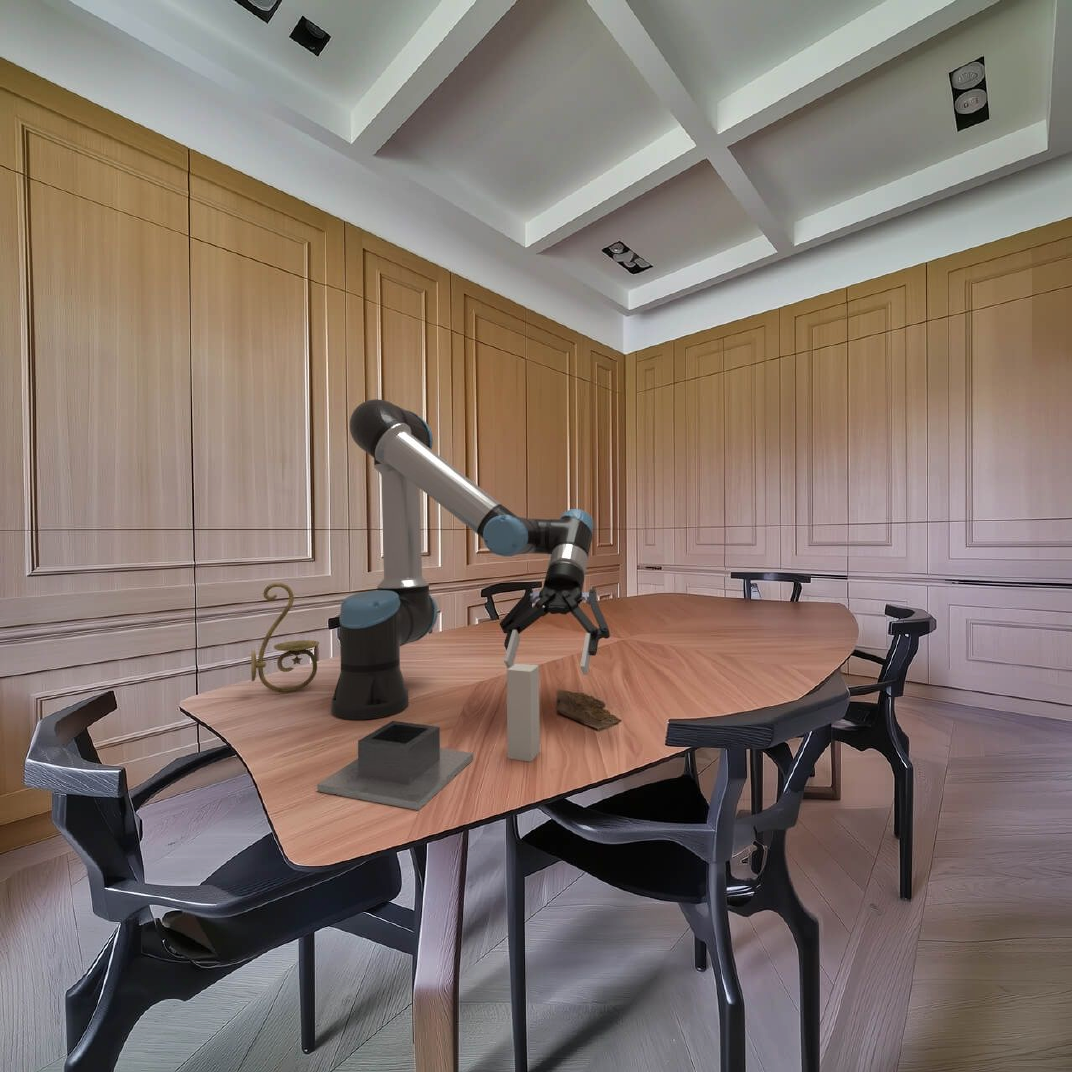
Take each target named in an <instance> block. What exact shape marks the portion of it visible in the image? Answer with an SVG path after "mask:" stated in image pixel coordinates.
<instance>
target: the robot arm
mask: <svg viewBox="0 0 1072 1072" xmlns="http://www.w3.org/2000/svg"><path fill="white" fill-rule="evenodd" d="M349 432H350V434H351V435H350V436H351V438H352V440H353V441H354V443H355V444H356V445H357V446H358V448H360V449H361V450H363V451H364V452H365V453H367V455H370V456H371V457H372V458H373V468H374V469H375V470H376V471H377V472H378V473H379V474H380V475H381V479H380V481H381V510H382V513H381V516H382V517H381V518H382V546H383V547H382V548H383V552H382V554H383V558H382V559H383V579H382V580H381V581H380V582H379V584H378V585H377V589H376V590H369V591H365V592H358V593H354V594H351V595H349V596H347V597H346V598H344V600H342V602H341V604H340V611H339V612H340V614H339V617H338V620H339V628H340V630H339V634H340V639H339V640H340V642H339V644H340V646H339V647H340V648H339V649H340V651H339V652H340V674H339V677H338V679H337V683H336V686H335V689H334V692H333V693H334V694H333V696H332V698H331V714H332V715H334V717H337V718H341V719H344V720H370V719H371V720H372V719H378V718H379V719H380V718H383V717H389V716H392V715H395V714H397V713H400V712H402V711H404V710H405V709H407V707H409V705H410V702H409V698H410V697H409V694H410V693H409V690H408V689H407V685H406V682H405V679H404V676H403V673H402V670H401V661H400V659H401V658H400V657H401V655H400V654H401V653H400V648H401V647H402V646H405V645H407V644H409V643H414V642H417V641H419V640H422V638H424V637H425V636H426V635H428V634H429V633H430V632H431V631H432V630H433V628H434V627H435V624H436V622H437V620H438V619H437V618H438V612H439V611H438V605H437V603H436V601H435V599H434V598H433V597H432V595H431V594H430V583H429V582H428V581H427V580H426V579H425V578H424V577H423V564H422V563H423V561H422V559H423V558H422V528H421V527H422V526H421V524H422V521H421V491H420V490H422V491H423V492H424V493H425V494H426V495H428V496H429V497H430V498H432V499H433V500H434V501H435V502H436V503H437V504H439V505H440V506H442V507H443V508H444V509H445V510H446V511H447V512H448V513H450V514H451V515H453V516H454V517H455V518H456V519H457V520H459V521H461V522H462V523H463V525H465V526H466V527H468V528H469V529H470V530H471V531H473V532H474V533H475V534H477V536H479V537H480V538H481V539H482V540H483V542H484V545H485V547H486V548H487V549H488V550H489V551H490V552H491V553H492V554H494V555H497V556H501V557H513V556H516V555H517V556H518V555H526V554H539V555H541V554H542V555H550V558H549V561H548V567H547V571H546V574H545V578H544V583H543V587H542V589H541V590H540V591H538V590H537V591H536V590H533V589H532V587H527V588H526V589H525V592H524V594H523V596H522V597H521V598H520V600H519V601H518V602H517V603H516V604H515V605H514V607H512V609H511V610H510V611H509V612H508V613H507V614H505V617H503V618H502V620H500V622H499V626H500V628H501V630H502V632H503V634H505V635H506V637H505V639H504V643H503V644H504V647H505V650H506V652H505V655H504V659H503V662H504V665H505V667H506V668H507V669H509V668H510V667H512V666H513V665H515V660H516V656H517V652H518V648H519V645H520V641H521V636H520V634H521V633H522V632H523V631H525V630H526V629H528V628H529V627H530V626H531V625H532V624H534V623H535V622H536V621H538V620H539V619H540V618H541V617H545V616H546V615H548V614H549V613H550V614H551V615H557V614H561V615H567V614H569V613H570V614H572V615H573V617H574V618H576V620H577V621H578V622H579V623H580V625H581V626H582V628H583V629H584V630H585V631H586V633H585V636H584V642H583V648H582V653H581V654H582V655H581V660H580V665H579V666H580V670H581V673H582V675H585V676H588V673H589V669H590V667H589V666H590V660H591V657H592V656H596V655H597V652H598V647H599V641H600V640H601V639H603V638H604V639H610V637H611V634H610V630H609V626H608V624H607V621H606V620H605V617H604V615H603V613H602V611H601V608H600V606H599V603H598V595H597V592H596V589H595V588H590V589H589V591H588V592H583V588H584V583H585V575H586V571H587V566H588V561H589V555H590V550H591V546H592V541H593V538H594V535H593V533H594V526H595V523H594V519H593V517H592V516H591V515H590V514H589V513H588V512H587V511H585V510H583V509H579V508H571V509H569V510H565V511H564V512H563V513H562V514H561V516H560V518H559V519H556V518H553V519H543V518H529V517H521V516H517V515H516V514H514V513H513V512H512V511H511V510H509V509H508V508H507V507H505V506H504V505H503V504H501V502H499V501H498V500H496V499H495V497H493V496H491V495H490V494H489V493H487V492H486V491H485V489H482V488H481V486H479V485H477V484H476V483H475V482H474V481H472V480H471V479H470V478H469V477H467V476H466V475H464V474H463V473H462V472H461V471H459V470H458V469H457V468H455V467H454V466H453V465H452V464H450V463H449V462H448V461H446V460H445V459H444V458H442V456H440V455H439V454H438V453H436V452H435V451H434V450H432V449H433V446H434V445H433V444H434V438H433V433H432V430H431V428H430V426H429V424H428V423H427V422H426V421H425V419H423V418H421V417H420V416H419V415H418V414H416V413H415V412H413V411H411V410H408V409H407V410H406V409H404V408H402V407H399V406H398V405H395V404H394V403H392V402H390V401H388V400H384V399H377V398H376V399H375V398H374V399H369V400H365V401H364V402H361V404H359V405H358V406H356V408H355V409H354V410H353V412H352V414H351V416H350V419H349ZM583 601H585V602H586V604H587V605H590V609H591V611H592V613H593V616H594V617H595V622H597V625H598V627H599V628H598V627H597V626H595V625H594V623H593V622H592V621H591V620H590V618H589V617H588V616H587V615H586V613H584V611H583V610H582V608H581V607H580V604H581V603H582V602H583ZM533 604H534V605H533ZM532 605H533V606H532Z"/></svg>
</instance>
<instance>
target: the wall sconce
mask: <svg viewBox="0 0 1072 1072" xmlns="http://www.w3.org/2000/svg"><path fill="white" fill-rule="evenodd" d="M277 587H278V588H281V589H284V590H285V591H286V592H287V594H288V603H287V605H286V606H285V608H284V610H283V611H282V612H281V613H280V614H279V617H277V618H276V620H275V622H273V624H272V626H271V627H270V628H269V630H268V631H267V633H266V635H265V637H264V639H263V641H262V644H261V646H260V649H259V653H258V660H257V655H256V652H255V650H254V649H253V650H251V657H250V658H251V659H250V660H251V661H250V662H251V663H250V664H251V665H250V666H251V669H250V671H251V682H254V681H255V680H256V678H257V671H258V675H259V676H258V677H259V680H260V681H261V683H262V685H264V686H265V687H266V688H267V689H269V690H271V691H273V692H278V693H292V692H296V691H299V690H301V689H303V688H305V687H307V686H308V685H309V684H310V683H311V682H312V681H313V680H314V678H315V676H316V675H317V671H318V661H317V658H316V655H314V653H313V652H312V651H311V650H309V649H313V648H315V647H318V646H319V645H320V641H318V640H317V641H316V640H293V641H286V642H281V643H277V644H274V646H273V648H274V650H277V651H281V652H282V651H284V652H283V653H282V654H281V655H280V656H279V657H278V659H277V663H276V665H277V667H278V668H277V669H278V670H280V671H281V672H282V673H286V672H291V671H293V670H294V667H291V666H289V667H284V666H283V664H282V663H283V660H284V659H285V658H286V657H288V656H290V655H294V656H295V658H292V659H291V660H292V662H293V665H296V664H298V665H301V660H302V659H303V658H301V657H300V658H299V656H300V654H306V655H307V656H308V657H309V658H310V659H311V663H312V671H311V674H310V675H309V677H308V678H307V679H306V680H305V681H304V682H302V683H300V684H298V685H295V686H292V687H278V686H275V685H273V684H272V683H270V682H269V681H268V680H267V679H266V677H265V673H264V668H265V667H267V662H266V661H264V654H265V651H266V648H267V645H268V643H269V641H270V639H271V637H272V635H273V633H274V631H275V630H276V629H277V628H278V626H279V624H281V622H282V621H283V619H285V617H286V615H287V614H288V613H289V611H290V610H291V608H292V606H293V604H294V599H295V596H294V593H293V591H292V589H291V587H289V586H288V585H287V584H285V583H282V582H275V583H274V582H273V583H270V584H269V585H268V586H266V587H265V589H264V591H263V594H262V595H263V597H264V598H265V600H268V601H274V600H275V599H277V597H278V595H276V594H273V596H269V594H268V593H269V591H270V590H271V589H273V588H277Z"/></svg>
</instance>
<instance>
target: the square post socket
mask: <svg viewBox="0 0 1072 1072" xmlns="http://www.w3.org/2000/svg"><path fill="white" fill-rule="evenodd" d="M440 733H441V729H440V726H435V725H428V724H427V725H426V724H420V723H414V722H413V723H412V722H405V721H396V720H392V721H390V722H388V723H386V724H384V725H383V726H381V727H379V728H378V729H376V730H374V731H372V732H370V733H369V734H367V735H366V736H364V737H361V738H360V739H359V740H357V759H355V760H353V761H352V762H350V763H349V764H347V765H345V766H344V767H342V768H340V769H339V770H337V771H336V772H334V773H332V774H331V775H330V776H328V777H327V778H325V779H323V780H322V781H320V782H319V783H317V784H316V785H317V787H316V789H317V792H319V793H325V794H330V795H334V794H338V795H337V796H339V795H342V796H341V797H345V796H346V797H345V798H351V799H356V800H361V801H367V802H372V803H378V804H383V805H388V806H392V807H398V808H405V809H410V810H413V811H420V810H421V808H423V807H424V806H425V805H426V804H427V803H428V802H429V801H430V800H432V799H433V798H434V797H435V796H436V795H437V794H439V792H440V791H441V790H442V789H443V788H444V787H445V786H446V785H447V784H449V783H450V781H451V782H452V780H453V779H454V778H455V777H456V776H457V775H458V774H460V772H461V771H462V770H463V769H464V768H466V767H467V766H468V764H470V763H471V762H472V761H473V760H474V752H470V751H464V750H456V749H449V748H442V747H440V745H441V740H440V735H441V734H440ZM466 765H467V766H466ZM456 774H457V775H456ZM455 775H456V776H455ZM451 779H452V780H451Z"/></svg>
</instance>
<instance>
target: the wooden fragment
mask: <svg viewBox="0 0 1072 1072" xmlns="http://www.w3.org/2000/svg"><path fill="white" fill-rule="evenodd" d="M556 701H557V703H556V712H557V714H558V715H559V714H561V715H563V716H565V717H567V718H570V719H573V720H575V721H577V722H579V723H582V724H584V725H586V726H588V727H592V728H594V729H596V730H597V732H600V731H603V730H608V729H611V728H613V727H614V726H615V725H618V724H619V723H621V722H623V721H622V719H621V718H618V717H617V716H616V715H614V714H611V712H610V711H609V710H607V709H604V707H605V706H606V703H605V702H604V701H602V700H600V699H597V698H595V697H594V695H588V694H585V693H584V692H580V693H579V692H576V691H575V692H572V691H569V690H563V689H558V690H557V700H556ZM618 722H619V723H618ZM610 727H611V728H610Z"/></svg>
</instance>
